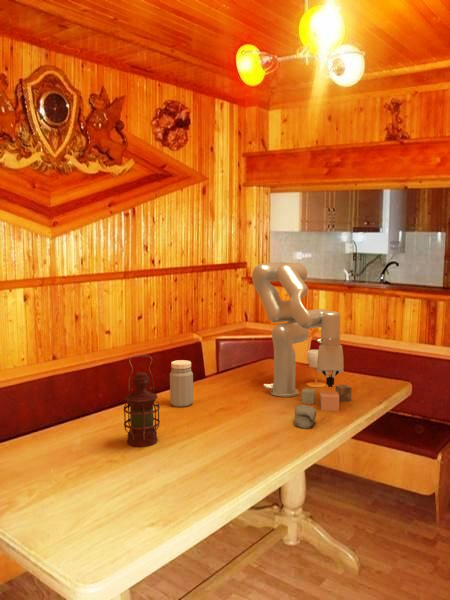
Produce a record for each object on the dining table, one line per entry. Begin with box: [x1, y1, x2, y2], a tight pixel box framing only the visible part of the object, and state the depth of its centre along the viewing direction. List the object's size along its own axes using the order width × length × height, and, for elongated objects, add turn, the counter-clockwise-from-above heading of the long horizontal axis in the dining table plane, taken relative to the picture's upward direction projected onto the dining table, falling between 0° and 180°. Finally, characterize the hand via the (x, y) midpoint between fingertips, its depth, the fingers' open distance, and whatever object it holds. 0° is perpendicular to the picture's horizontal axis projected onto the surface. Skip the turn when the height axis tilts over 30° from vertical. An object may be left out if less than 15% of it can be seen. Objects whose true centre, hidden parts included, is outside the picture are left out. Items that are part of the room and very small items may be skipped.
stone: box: [294, 404, 317, 430], centre depth 210 cm, size 9×9×10 cm
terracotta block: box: [319, 390, 340, 412], centre depth 229 cm, size 7×7×6 cm
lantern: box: [123, 354, 161, 448], centre depth 191 cm, size 12×12×30 cm
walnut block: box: [335, 384, 352, 403], centre depth 241 cm, size 5×5×6 cm
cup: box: [306, 349, 327, 388], centre depth 265 cm, size 9×9×16 cm
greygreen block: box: [301, 388, 316, 405], centre depth 238 cm, size 5×5×5 cm
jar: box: [169, 359, 194, 408], centre depth 235 cm, size 10×10×18 cm
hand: (330, 386), depth 229 cm, fingers closed
